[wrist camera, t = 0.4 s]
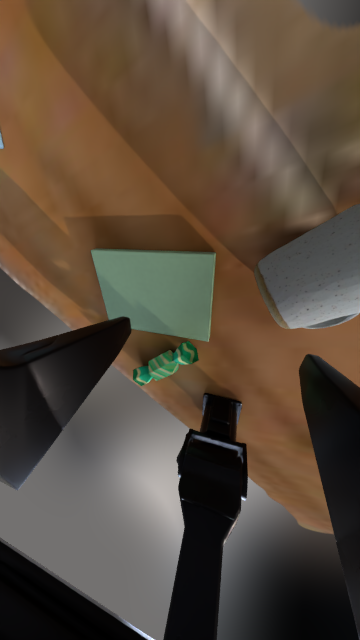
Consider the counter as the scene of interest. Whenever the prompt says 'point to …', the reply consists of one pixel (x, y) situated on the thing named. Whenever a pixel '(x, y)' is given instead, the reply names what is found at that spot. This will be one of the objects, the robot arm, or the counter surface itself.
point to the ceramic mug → (315, 275)
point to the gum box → (0, 142)
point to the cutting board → (158, 289)
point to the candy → (166, 364)
